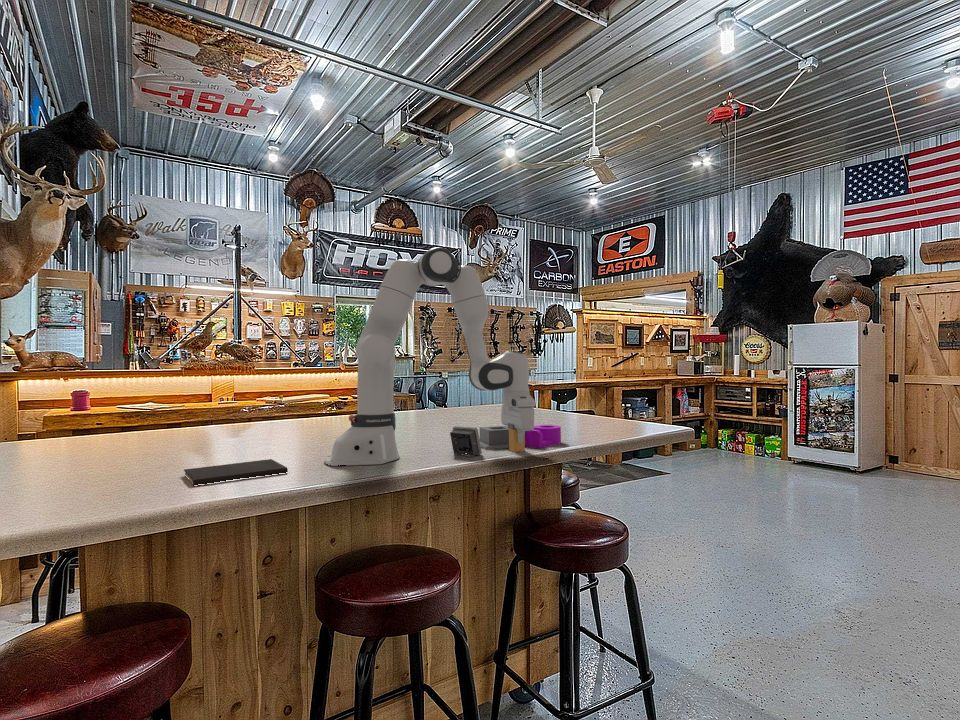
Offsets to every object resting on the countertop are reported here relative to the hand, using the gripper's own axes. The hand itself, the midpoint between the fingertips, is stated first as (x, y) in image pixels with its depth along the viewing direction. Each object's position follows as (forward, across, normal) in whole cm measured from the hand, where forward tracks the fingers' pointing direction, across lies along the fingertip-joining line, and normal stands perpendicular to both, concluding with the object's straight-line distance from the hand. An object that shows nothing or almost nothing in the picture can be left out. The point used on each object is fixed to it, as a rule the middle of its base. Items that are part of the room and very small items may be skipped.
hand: (516, 441), depth 176 cm
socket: (+3, -13, -2) cm, 14 cm away
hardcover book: (+4, +5, -85) cm, 85 cm away
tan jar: (+3, 0, 0) cm, 3 cm away
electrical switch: (+3, +1, -18) cm, 18 cm away
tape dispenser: (+4, -9, +14) cm, 17 cm away
